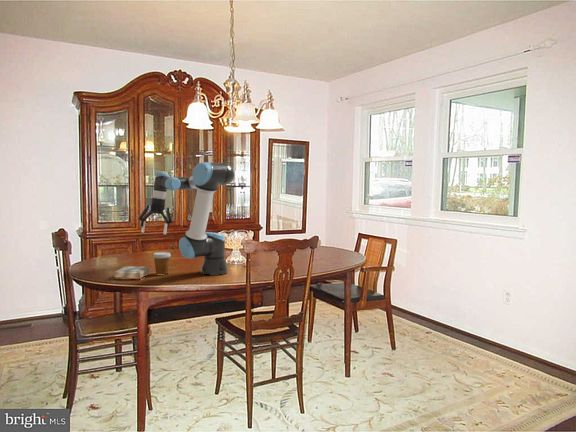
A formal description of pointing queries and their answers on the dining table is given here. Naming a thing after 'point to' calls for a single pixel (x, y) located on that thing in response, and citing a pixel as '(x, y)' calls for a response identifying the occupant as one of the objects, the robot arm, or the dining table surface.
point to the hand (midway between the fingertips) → (153, 233)
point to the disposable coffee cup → (162, 262)
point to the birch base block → (132, 272)
